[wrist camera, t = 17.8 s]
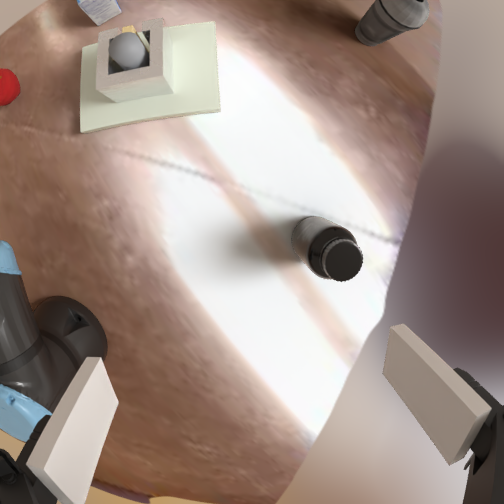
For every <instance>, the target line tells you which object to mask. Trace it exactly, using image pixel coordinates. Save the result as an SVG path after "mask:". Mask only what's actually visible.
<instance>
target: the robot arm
mask: <svg viewBox="0 0 504 504" xmlns="http://www.w3.org/2000/svg"><path fill="white" fill-rule="evenodd" d="M21 275H22V273H21V271H20V270H19V268H18V265H17V262H16V258H15V255H14V252H13V249H12V247H11V245H10V244H9V243H7V242H6V241H3V240H0V428H1V429H2V430H3V431H5V432H6V433H8V434H10V435H11V436H13V437H15V438H17V439H19V440H22V441H25V442H26V444H25V446H24V447H23V449H22V451H21V453H20V455H19V457H18V458H17V460H16V462H15V461H14V459H13V458H12V457H11V456H10V454H9V453H8V452H7V451H5V450H3V449H0V504H56V503H57V500H59V501H60V502H61V503H62V504H85V501H86V497H87V494H88V491H89V488H90V484H91V481H92V478H93V475H94V471H95V468H96V465H97V462H98V459H99V456H100V453H101V450H102V447H103V444H104V441H105V439H106V436H107V433H108V430H109V427H110V424H111V422H112V419H113V416H114V413H115V411H116V408H117V405H118V403H119V402H118V400H117V398H116V395H115V393H114V390H113V388H112V385H111V383H110V380H109V378H108V375H107V372H106V370H105V367H104V364H103V362H104V360H105V358H106V355H107V339H106V335H105V332H104V330H103V328H102V326H101V324H100V323H99V321H98V320H97V318H96V317H95V316H94V315H93V313H92V312H91V311H90V310H88V309H87V308H86V307H85V306H84V305H82V304H81V303H79V302H77V301H75V300H73V299H71V298H68V297H63V296H54V297H50V298H48V299H46V300H45V301H43V302H42V303H41V304H40V305H39V306H38V307H37V308H36V309H35V310H34V312H32V309H31V306H30V303H29V300H28V297H27V294H26V290H25V287H24V284H23V280H22V277H21ZM383 375H384V376H385V377H386V379H387V380H388V381H389V383H390V384H391V385H392V387H393V388H394V390H395V391H396V392H397V394H398V395H399V396H400V398H401V399H402V400H403V401H404V403H405V404H406V406H407V407H408V409H409V410H410V411H411V412H412V414H413V415H414V417H415V418H416V419H417V421H418V422H419V424H420V425H421V426H422V428H423V429H424V431H425V432H426V433H427V435H428V436H429V437H430V439H431V440H432V442H433V443H434V445H435V446H436V447H437V449H438V450H439V452H440V453H441V454H442V456H443V457H444V459H445V460H446V461H447V463H448V464H449V465H451V464H453V463H455V462H457V461H459V460H461V459H462V458H464V457H465V455H466V454H467V451H468V450H469V449H470V448H471V450H472V451H473V452H474V453H473V455H472V456H471V457H470V459H469V461H468V462H467V463H466V465H465V467H464V470H466V469H467V467H468V466H469V465H470V468H469V474H468V480H467V485H466V490H465V495H464V500H463V504H504V405H503V406H502V405H501V404H500V403H499V402H498V401H497V400H496V399H495V398H493V396H491V395H490V393H488V392H487V391H486V390H485V389H484V388H483V387H482V386H480V384H479V383H478V382H477V381H475V379H474V378H473V377H471V375H470V374H468V373H467V372H465V371H463V370H461V369H459V368H455V369H452V368H451V367H450V366H449V365H448V364H447V363H445V362H444V361H443V360H442V359H441V358H440V357H439V356H438V355H437V354H436V353H435V352H434V351H433V350H432V349H431V348H429V347H428V346H427V345H426V344H425V343H424V342H423V341H422V340H421V339H420V338H419V337H418V336H416V335H415V334H414V333H413V332H412V331H411V330H410V329H409V328H408V327H407V326H405V324H400V325H396V326H391V327H390V332H389V338H388V345H387V351H386V357H385V362H384V368H383Z"/></svg>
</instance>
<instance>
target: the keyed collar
mask: <svg viewBox="0 0 504 504" xmlns="http://www.w3.org/2000/svg"><path fill="white" fill-rule="evenodd" d="M121 33H122V32H121V31H120V29H119V28H118V27H117V28H113V29H109V30H106V31H102V32H99V37H98V50H97V69H96V90H97V91H99V92H101V93H102V94H104V95H105V96H107V97H109V98H110V99H112V100H113V101H115V102H117V103H121V102H126V101H131V100H136V99H142V98H147V97H153V96H159V95H166V94H172V93H174V77H173V42H172V40H171V37H170V34H169V32H168V29H167V27H166V24H165V21H164V19H163V18H159V19H153V20H148V21H143V22H142V33H143V35H144V36H145V38H146V40H147V41H148V43H149V45H150V66H147V67H142V68H137V69H132V70H127V71H125V70H124V69H123V68H122V67H121V66H120V65H119V64H118V63H117V62H116V61H115V60H114V59H113V58H112V57H111V56H110V55H109V52H108V48H109V45H110V43H111V41H112V40H113V39H114V38H115V37H116V36H118V35H119V34H121Z"/></svg>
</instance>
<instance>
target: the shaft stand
mask: <svg viewBox="0 0 504 504" xmlns="http://www.w3.org/2000/svg"><path fill="white" fill-rule="evenodd" d="M167 29H168V32H169V34H170V37H171V40H172V42H173V77H174V93H172V94H166V95H159V96H153V97H147V98H142V99H136V100H131V101H126V102H121V103H117V102H115V101H113V100H112V99H110V98H109V97H107V96H105V95H104V94H102V93H101V92H99V91H97V90H96V69H97V50H98V43H95V44H92V45H88V46H85V47H83V49H82V62H81V82H80V131H81V133H85V134H87V133H92V132H96V131H100V130H105V129H109V128H114V127H119V126H124V125H129V124H135V123H140V122H146V121H152V120H158V119H165V118H172V117H179V116H187V115H196V114H205V113H216V112H221V110H220V95H219V79H218V63H217V46H216V28H215V22H204V23H194V24H186V25H179V26H172V27H167ZM108 52H109V55H110V56H111V57H112V58H113V59H114V60H115V61H116V62H117V63H118V64H119V65H120V66H121V67H122V68H123V69H124V70H125V71H127V70H132V69H137V68H142V67H147V66H150V45H149V43H148V41H147V40H146V38H145V36H144V35H143V33H142V32H138V33H137V32H136V30H135V29H134V27H133V26H132V25H131V26H127V27H122V33H121V34H119V35H118V36H116V37H115V38H114V39H113V40H112V41H111V43H110V45H109V48H108Z"/></svg>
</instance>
